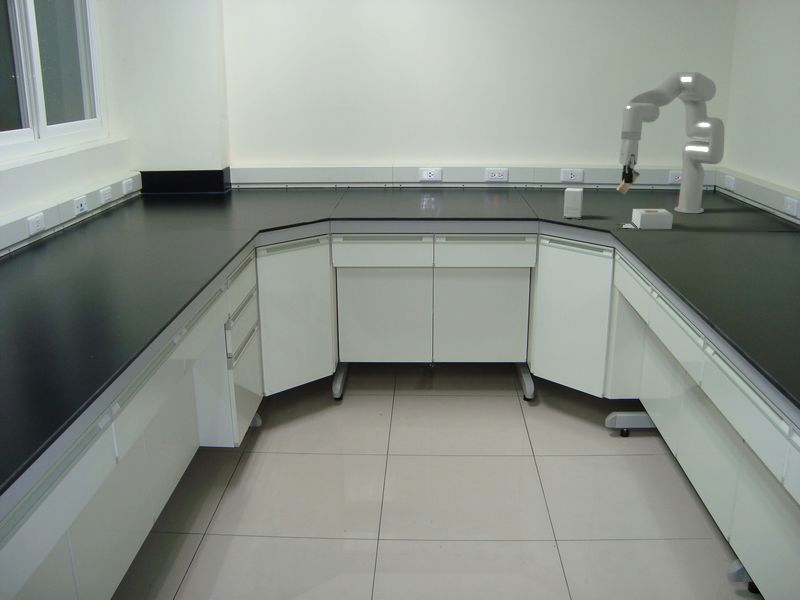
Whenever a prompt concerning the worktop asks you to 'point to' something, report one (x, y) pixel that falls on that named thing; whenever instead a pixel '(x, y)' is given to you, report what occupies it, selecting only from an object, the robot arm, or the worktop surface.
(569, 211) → the supplement box
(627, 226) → the pad
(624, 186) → the tan wooden block
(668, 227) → the box
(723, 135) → the robot arm
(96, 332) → the worktop surface
